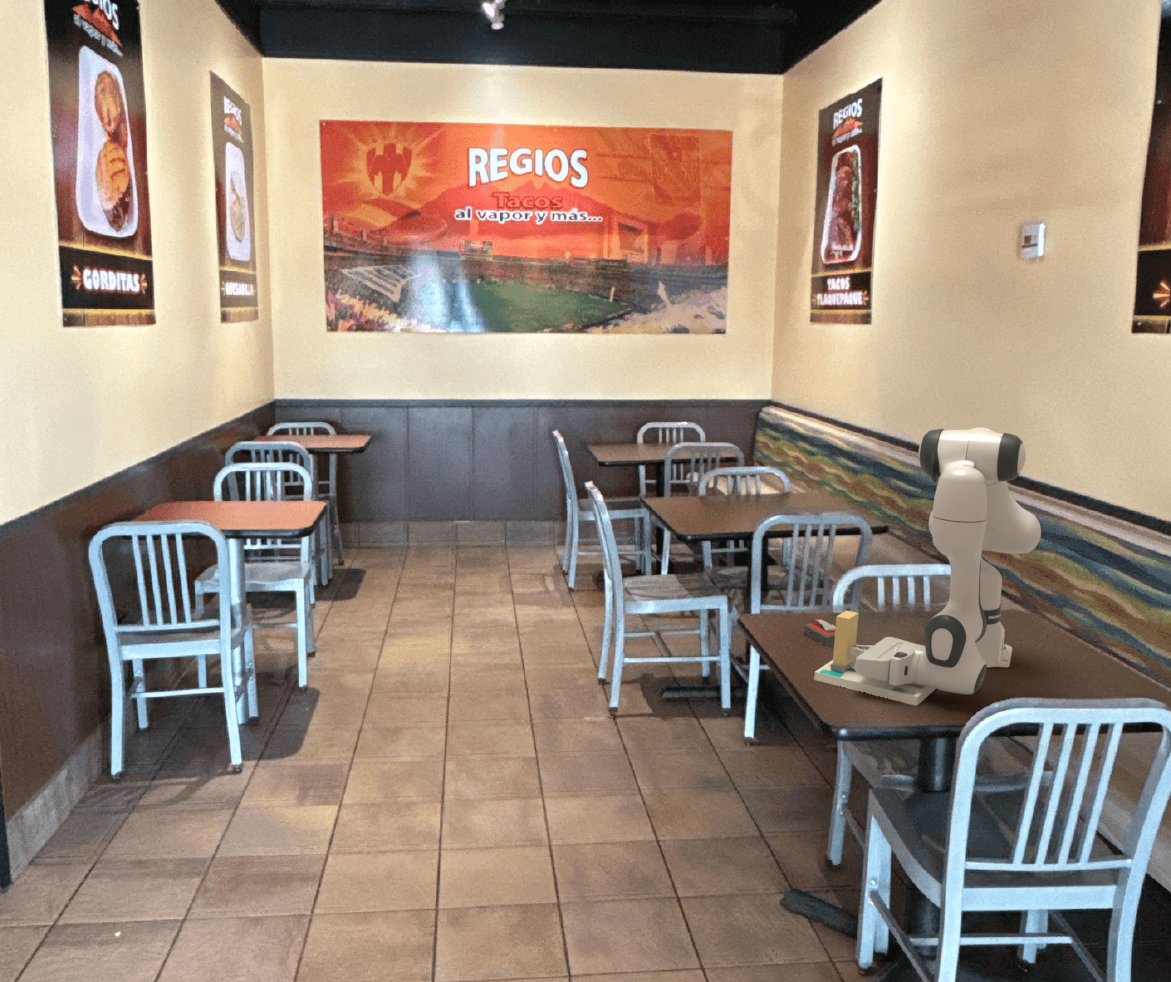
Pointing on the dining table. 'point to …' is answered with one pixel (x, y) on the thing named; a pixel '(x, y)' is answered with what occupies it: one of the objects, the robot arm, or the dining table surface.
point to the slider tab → (844, 641)
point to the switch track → (873, 685)
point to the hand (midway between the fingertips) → (851, 649)
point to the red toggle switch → (821, 631)
